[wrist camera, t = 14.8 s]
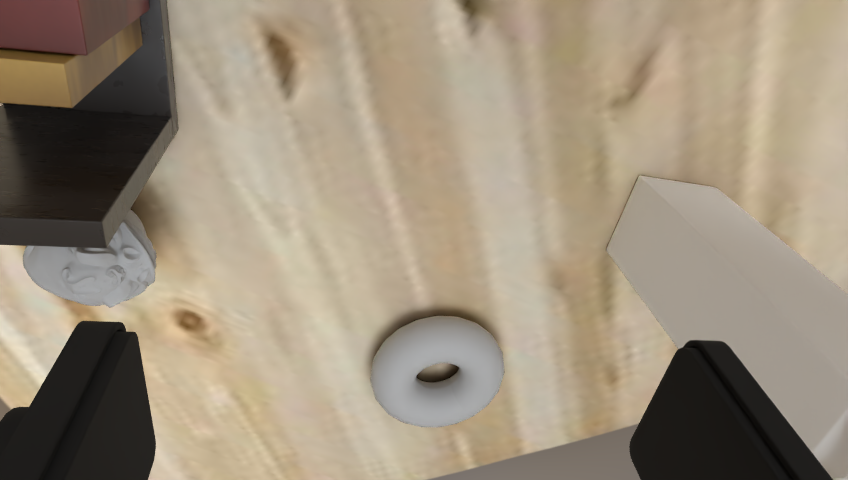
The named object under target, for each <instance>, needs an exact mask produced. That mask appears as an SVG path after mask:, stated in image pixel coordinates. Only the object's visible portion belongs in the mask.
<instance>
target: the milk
mask: <svg viewBox="0 0 848 480" xmlns="http://www.w3.org/2000/svg"><path fill="white" fill-rule="evenodd" d="M606 251H607V252H608V254H609V255H610V256H611V258H612V259H613V261H614V262H615V263H616V265H617V266H618V267H619V269H620V270H621V271H622V273H623V274H624V276H625V277H626V278H627V280H628V281H629V282H630V284H631V285H632V286H633V288H634V289H635V291H636V292H637V293H638V295H639V296H640V297H641V299H642V300H643V301H644V303H645V304H646V306H647V307H648V308H649V310H650V311H651V312H652V314H653V315H654V316H655V318H656V319H657V321H658V322H659V323H660V325H661V326H662V327H663V329H664V330H665V331H666V333H667V334H668V336H669V337H670V338H671V340H672V341H673V342H674V344H675V345H676V346H677V348H678V349H680V348H683V346H684V345H685V344H686V343H687V342H688V341H690V340H710V341H722V342H725V343H726V344H727V345H728V346H729V347H730V348H731V349H732V350H733V352H734V353H735V354H736V356H737V357H738V358H739V359H740V361H741V362H742V363H743V365H744V366H745V367H746V368H747V370H748V371H749V372H750V374H751V375H752V376H753V377H754V379H755V380H756V381H757V383H758V384H759V385H760V386H761V388H762V389H763V390H764V392H765V393H766V394H767V395H768V397H769V398H770V399H771V401H772V402H773V403H774V404H775V406H776V407H777V408H778V410H779V411H780V412H781V413H782V415H783V416H784V417H785V419H786V420H787V421H788V422H789V424H790V425H791V426H792V428H793V429H794V430H795V431H796V433H797V434H798V435H799V437H800V438H801V439H802V440H803V442H804V443H805V444H806V446H807V447H808V448H809V449H810V451H811V452H812V453H813V454H814V456H815V457H816V458H817V460H818V461H819V462H820V463H821V465H822V466H823V467H824V469H825V470H826V471H827V472H828V474H829V475H830V476H831V478H832V479H833V480H848V294H847V293H846V292H845V291H844V290H842V289H841V288H840V287H839V286H837V285H836V284H835V283H834V282H833V281H831V280H830V279H829V278H828V277H826V276H825V275H824V274H823V273H821V272H820V271H819V270H818V269H816V268H815V267H814V266H813V265H812V264H810V263H809V262H808V261H807V260H805V259H804V258H803V257H802V256H800V255H799V254H798V253H797V252H795V251H794V250H793V249H792V248H791V247H789V246H788V245H787V244H786V243H784V242H783V241H782V240H781V239H779V238H778V237H777V236H776V235H774V234H773V233H772V232H771V231H770V230H768V229H767V228H766V227H765V226H763V225H762V224H761V223H760V222H758V221H757V220H756V219H755V218H753V217H752V216H751V215H750V214H748V213H747V212H746V211H745V210H744V209H742V208H741V207H740V206H739V205H737V204H736V203H735V202H734V201H732V200H731V199H730V198H729V197H727V196H726V195H725V194H724V193H723V192H721V191H720V190H719V189H718V188H716V187H711V186H705V185H698V184H692V183H685V182H679V181H672V180H666V179H659V178H653V177H646V176H639V177H638V179H637V181H636V184H635V186H634V188H633V190H632V193H631V195H630V197H629V199H628V202H627V204H626V206H625V208H624V211H623V213H622V215H621V217H620V220H619V222H618V224H617V226H616V229H615V231H614V233H613V235H612V237H611V240H610V242H609V244H608V246H607V249H606Z"/></svg>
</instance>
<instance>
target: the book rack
mask: <svg viewBox="0 0 848 480" xmlns="http://www.w3.org/2000/svg"><path fill="white" fill-rule="evenodd" d="M0 103H3V105H1V106H0V245H23V246H51V247H79V248H107V246H108V245H109V243H110V241H111V240H112V238H113V236H114V235H115V233H116V232H117V230H118V228H119V227H120V225H121V223H122V222H123V220H124V218H125V217H126V215H127V213H128V212H129V210H130V208H131V207H132V205H133V203H134V202H135V200H136V199H137V197H138V195H139V194H140V192H141V190H142V189H143V187H144V185H145V184H146V182H147V180H148V179H149V177H150V175H151V174H152V172H153V170H154V169H155V167H156V166H157V164H158V162H159V161H160V159H161V157H162V156H163V154H164V152H165V151H166V149H167V147H168V146H169V144H170V142H171V141H172V139H173V137H174V136H175V134H176V133H177V131H178V119H177V109H176V98H175V87H174V77H173V66H172V56H171V45H170V34H169V24H168V13H167V2H166V0H0Z"/></svg>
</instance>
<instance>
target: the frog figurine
mask: <svg viewBox="0 0 848 480" xmlns="http://www.w3.org/2000/svg"><path fill="white" fill-rule="evenodd" d="M23 264H24V268H25V269H26V271H27V273H28V275H29V276H30V277H31V279H32V280H33V281H34V282H35V283H36V284H37V285H38V286H40V287H41V288H43V289H45V290H46V291H48V292H51V293H53V294H55V295H57V296H59V297H62V298H65V299H67V300H71V301H75V302H78V303H81V304H85V305H90V306H100V305H106V306H108V307H113V306H115V305H117V304H119V303H120V302H123V301H127V300H129V299H131V298H133V297H135V296H137V295H139V294H140V293H142V292H143V291H145V289H146V288H147V286H149V285H150V284H152V283H154V281H155V268H156V251H155V250H154V249H153V245H152V243H151V241H150V239H148V238H147V235H146V231H145V228H144V226H143V224H142V222H141V220H140V219H139V217H138V216H137V215H136V214H135V213H134V212H133V211H132V210H131V209H130V210H129V212H128V213H127V215H126V217H125V218H124V220H123V222H122V223H121V225H120V227H119V228H118V230H117V232H116V233H115V235H114V236H113V238H112V240H111V241H110V243H109V245H108V246H107V248H79V247H51V246H27V247H26V248H25V251H24V255H23Z"/></svg>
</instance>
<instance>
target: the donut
mask: <svg viewBox="0 0 848 480" xmlns="http://www.w3.org/2000/svg"><path fill="white" fill-rule="evenodd" d="M439 363H450V364H453V365H457V366H458V367H459V370H458V371H457V373H456V374H455V375H453V376H452V377H451V378H449V379H446V380H444V381H440V382H435V383H429V382H424V381H420V380H419V379H417V378H416V376H417V374H418V373H419V372H421V371H422V370H423V369H424V368H426V367H429V366H431V365H434V364H439ZM503 375H504V362H503V353H502V351H501V349H500V347H499V346H498V344H497V342H496V341H495V339H494V337H493V336H492V334H490V333H489V332H488V331H486V330H485V329H484V328H482V327H481V326H480V325H478V324H477V323H475V322H472V321H469V320H466V319H463V318H460V317H455V316H433V317H428V318H424V319H419V320H416V321H414V322H411V323H409V324H407V325H405V326H403V327H401V328H399V329H398V330H397V331H395V332H394V333H393V334H392V335H391V336H390V337H388V338H387V339H386V340H385V341H384V342H383V344H382V345H381V347H380V349H379V350H378V352H377V354H376V355H375V357H374V359H373V364H372V370H371V377H370V381H371V384H372V388H373V392H374V395H375V398H376V400H377V401H378V402H379V404H380V405H381V406H382V407H383V408H384V410H385V411H386V412H387V413H388V414H389V415H391V416H393V417H394V418H396V419H398V420H400V421H401V422H403V423H407V424H411V425H415V426H419V427H443V426H448V425H452V424H457V423H459V422H461V421H464V420H466V419H468V418H470V417H473V416H474V415H475V414H477V413H478V412H479V411H481V410H482V409H483V408H485V407H486V406H487V405H488V404H489V403H490V402H491V400H492V399H493V398H494V396H495V395H496V394H497V393H498V391H499V388H500V385H501V382H502V379H503Z"/></svg>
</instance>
